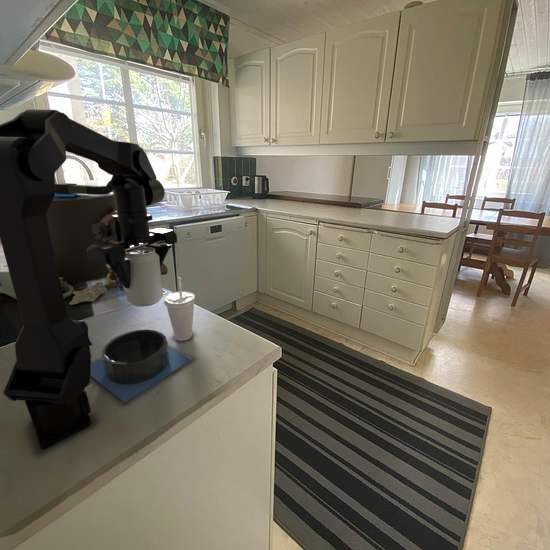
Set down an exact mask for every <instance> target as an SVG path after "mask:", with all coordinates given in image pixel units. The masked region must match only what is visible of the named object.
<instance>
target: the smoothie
mask: <svg viewBox="0 0 550 550" xmlns="http://www.w3.org/2000/svg"><path fill="white" fill-rule="evenodd" d="M177 283H178V284H177V285H178V291H175V292H171V293H168V294H167V295H166V296H164V298H163V303H164V305H165V307H166V309H167V313H168V317H169V320H170V324H171V328H172V332H173V335H174V339H175V340H176V341H178V342H179V341H180V342H183V341H187V340H190V339H191V338H192V336H193V325H194V324H193V323H194V303H195V302H196V295H195V294H194V293H193V292H191V291H186V290H184V291H183V289H182V279H181V276H177Z"/></svg>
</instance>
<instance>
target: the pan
mask: <svg viewBox="0 0 550 550" xmlns="http://www.w3.org/2000/svg"><path fill="white" fill-rule="evenodd" d="M168 344H169V343H168V339H167V336H166V335H165V334H164V333H162V332H161V331H157V330H154V329H136V330H132V331H131V330H130V331H127V332H124V333H122V334H119V335H117V336H115V337H113V338H112V339H110V340H109V341H108V342H107V343H106V344H105V345H104V346H103V348H102V349H101V360H103V364H104V369H105V373H106V376H107V378H108V379H109V380H111V381H112V382H114V383H118V384H136V383H140V382H144V381H147V380H149V379H151V378H153V377H155V376H157V375H158V374H160V373H161V372H162V371H163V370H164V369H165V368H166V367H167V365H168V362H169V352H168V347H169V346H168Z"/></svg>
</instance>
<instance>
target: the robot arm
mask: <svg viewBox="0 0 550 550" xmlns="http://www.w3.org/2000/svg"><path fill="white" fill-rule="evenodd" d="M67 153H71V154H73V155H75V156H78V157H80V158H83V159H86V160H90V161H93V162H95V164H97V166H98V168H99V169H100V170H102V171H103V172H104V173H107V174H108V175H110V176H111V179H110V180H109V181H108V182H107V184H106V185H105V186H106V188H107V189H113V194H114V200H115V207H116V213H117V215H116V216H113V218H112V222H113V223H112V224H110V225H105V224H104V222H99V223H95V224H92V225H91V226H92V233H93V236H94V238H95V239H97V240H98V239H103V241H104V242H102V243H98V244H94V245H90V246H89V248H88V249H87V256H88V260H90V261H95V262H99V263H104V264H108V265H109V266H110V267H111V268H112V269H113V270H114V272H115V273H116V275H117V276H118V278H119V280H120V281H121V283H122V284H123V286H124V287H125V288H127V289H128V288H130V259H125V256H126V252H127V251H130V250H134V249H137V248H140V247H151V248H154V249H155V253H157V254H158V255H159V260H160V269H161V266H162V263H163V264H164V261H165V259H166V256H167V255H168V253H169V251H170V249H171V248H172V245H174V244H177V243H178V235H177V233H176V231H174V230H173V229H167V228H161V227H160V228H159V227H158V228H154V229H150V224H149V223H150V222H151V221H153V215H152V214H148V208H147V207H150V206H153V205H156V204H159V203H161V202H162V201H163V200H164V198H165V196H166V190H165V188H164V186H163V184H162V183H161V182H160V180H158V179H157V175H156V173H155V170H154V168H153V166H152V164H151V161H150V159H149V157H148V155H147V153H146V152H145V151H144V148H143V147H142V146H141V145H140V144H138V143H134V142H128V141H118V140H113V139H111V138H109V137H107V136H106V135H103V134H101V133H99V132H98V131H96V130H93V129H92V128H90V127H87V126H85V125H83V124H82V123H80V122H78V121H76V120H74V119H72V118H69V116H68V115H67V114H65V113H64V112H61V111H59V110H56V109H34V108H33V109H32V108H31V109H25V110H24V111H21V112H20V113H19V114H17V115H16V116H15V117H14V118H13V119H11V120H7V121H6V122H3V123H1V124H0V243H1V248H2V251H3V255H4V258H5V262H6V266H8V269H9V273H10V277H11V280H12V284H13V288H14V291H15V295H16V299H15V300H16V302H17V305H18V310H19V312H20V317H21V320H22V324H23V325H22V328H21V330H20V332H19V335H18V336H17V338H16V340H15V342H14V351H15V362H14V364H13V368H12V371H11V373H10V375H9V377H8V380H7V382H6V384H5V387H4V390H3V395H4V396H5V397H6V398H8V399H9V400H10V401H13V402H16V401H20V402H21V401H23V402H24V404H25V406H26V410H27V412H28V414H29V417H30V421H31V422H30V423H31V426H32V429H33V433H34V435H35V438H36V441H37V445H38V447H39V449H40V450H44V449H46V448H48V447H50V446H53V445H54V444H57V443H58V442H60V441H62V440H64V439H66V438H68V437H70V436H72V435H74V434H76V433H78V432H79V431H81V430H84V429H85V428H87V427H89V426H91V425H92V424H93V423H92V422H93V421H92V419H91V417H90V415H89V414H91V412H92V410H91V406H90V402H89V401H90V400H89V398H88V393H87V391H86V388H87V387H88V386H89V385H90V383H91V376H90V371H91V365H92V353H91V346H92V345H93V343H92V341H91V339H90V335H89V326H88V324H87V323H86V321H83V320H73V319H72V318H71V317H70V316H69V315H68V311H67V305H66V301H65V299H64V296H63V294H64V293H63V292H64V291H62V287H61V283H60V278H59V273H58V269H57V264H56V260H55V255H54V250H53V246H52V241H51V237H50V232H49V227H48V223H47V218H46V213H47V211H48V208H49V206H50V204H51V202H52V200H53V198H54V195H55V193H56V189H55V183H56V179H55V177H56V176H55V174H56V172H57V171H58V170H60V168H61V166H62V165H63V164H64V163H65V162H66V161H67ZM110 240H113V241H116V242H118V241H121V243H120V244H115V243H109V241H110Z"/></svg>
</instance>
